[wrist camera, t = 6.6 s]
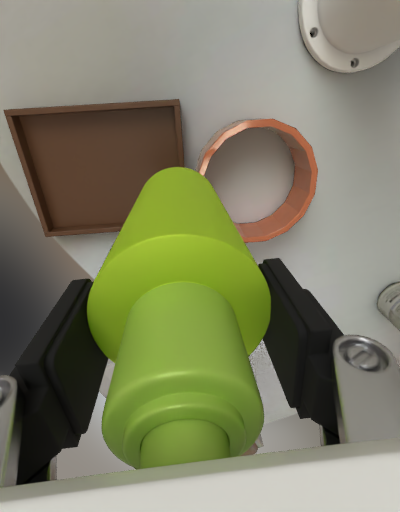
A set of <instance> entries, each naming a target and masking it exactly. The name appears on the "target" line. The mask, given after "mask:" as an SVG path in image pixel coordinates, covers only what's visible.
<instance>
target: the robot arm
mask: <svg viewBox="0 0 400 512" xmlns="http://www.w3.org/2000/svg"><path fill="white" fill-rule="evenodd" d="M298 14H299V25H300V30H301V34H302V38H303V40H304V43H305V45H306V47H307V49H308V51H309V52H310V54H311V55H312V56H313V58H314V59H315V60H316V61H317V62H318V63H320V64H321V65H322V66H324V67H325V68H327V69H329V70H331V71H335V72H339V73H353V72H358V71H362V70H365V69H368V68H371V67H373V66H375V65H377V64H379V63H380V62H382V61H384V60H385V59H386V58H387V57H389V56H390V55H391V54H392V53H394V52H395V51H396V49H397V48H398V47H399V46H400V0H299V5H298ZM310 32H311V33H312V38H311V36H310ZM351 62H352V66H351ZM258 267H259V269H260V271H261V272H262V274H263V276H264V278H265V280H266V282H267V285H268V288H269V291H270V296H271V312H270V322H269V325H268V328H267V331H266V333H265V335H264V337H263V341H264V343H265V346H266V348H267V351H268V353H269V356H270V358H271V361H272V363H273V366H274V368H275V371H276V374H277V376H278V379H279V381H280V384H281V386H282V389H283V391H284V394H285V396H286V399H287V401H288V404H289V406H290V407H291V408H295V407H296V410H297V412H298V415H299V417H300V419H303V418H311V420H313V421H315V422H316V423H318V424H319V429H320V441H321V446H320V447H312V448H303V449H295V450H287V451H279V452H272V453H263V454H255V455H246V456H238V457H230V458H222V459H215V460H207V461H199V462H191V463H183V464H175V465H168V466H160V467H152V468H144V469H137V470H129V471H121V472H114V473H106V474H98V475H91V476H84V477H76V478H69V479H61V480H56V473H57V472H56V471H57V469H56V468H57V467H56V465H57V464H56V461H57V459H56V455H57V454H58V453H60V452H61V449H63V448H72V447H77V446H78V443H79V440H80V437H81V434H84V433H86V431H87V429H88V426H89V423H90V420H91V416H92V412H93V409H94V406H95V403H96V399H97V396H98V392H99V389H100V386H101V382H102V379H103V376H104V372H105V369H106V365H107V362H108V359H109V358H108V357H107V356H106V355H105V354H104V353H103V352H102V351H101V349H100V348H99V347H98V345H97V344H96V342H95V340H94V338H93V336H92V334H91V331H90V328H89V324H88V319H87V302H88V297H89V293H90V290H91V287H92V285H93V283H94V282H91V280H90V279H80V280H73V281H72V282H71V283H70V284H69V286H68V287H67V289H66V290H65V292H64V293H63V295H62V296H61V298H60V299H59V301H58V302H57V304H56V305H55V307H54V308H53V310H52V311H51V313H50V314H49V316H48V317H47V318H46V320H45V321H44V323H43V324H42V326H41V327H40V329H39V331H38V332H37V333H36V335H35V336H34V338H33V339H32V341H31V342H30V344H29V345H28V347H27V348H26V350H25V351H24V352H23V354H22V355H21V357H20V359H19V360H18V361H17V363H16V364H15V368H14V370H13V371H12V372H11V374H10V375H9V376H8V375H0V512H400V369H399V366H398V364H397V361H396V359H395V357H394V356H393V354H392V352H391V351H390V350H388V349H387V348H386V347H385V346H384V345H382V344H381V343H379V342H377V341H376V340H373V339H371V338H368V337H365V336H360V335H345V336H344V334H343V333H342V332H341V331H340V329H339V328H338V327H337V325H336V324H335V323H334V322H333V320H332V319H331V318H330V317H329V315H328V314H327V313H326V312H325V310H324V309H323V308H322V306H321V305H320V304H319V303H318V301H317V300H316V299H315V298H314V296H313V295H312V294H311V292H310V291H309V290H307V289H302V287H301V286H300V285H299V283H298V282H297V281H296V279H295V278H294V277H293V275H292V274H291V273H290V272H289V270H288V269H287V268H286V266H285V265H284V264H283V262H282V261H281V260H280V259H279V258H275V259H266V260H264V261H263V264H259V265H258Z"/></svg>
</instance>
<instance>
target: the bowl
mask: <svg viewBox="0 0 400 512" xmlns="http://www.w3.org/2000/svg"><path fill="white" fill-rule="evenodd" d="M256 127H263V128H265V129H268V130H270V131H273V132H275V133H277V134H278V135H279V136H280V137H281V139H282V140H283V141H284V142H285V143H286V144H287V145H288V146H289V148H290V151H291V154H292V158H293V161H294V164H295V171H294V182H293V186H292V188H291V190H290V192H289V194H288V196H287V199H286V201H285V202H284V203H283V204H282V205H281V206H280V207H279V208H278V209H277V210H276V211H275V212H274V213H273V214H272V215H271V216H268V217H266V218H264V219H262V220H260V221H258V222H256V223H242V224H237V223H234V222H233V223H234V225H235V227H236V229H237V230H238V232H239V234H240V236H241V237H242V239H243V241H244V243H248V242H260V241H267V240H269V239H272V238H274V237H276V236H278V235H280V234H283V233H285V232H286V231H288V230H289V229H290V228H291V227H292V226H293V225H294V224H295V223H296V222H297V221H298V220H300V219H301V218H302V217H303V216H304V214H305V212H306V210H307V208H308V206H309V205H310V203H311V201H312V199H313V197H314V195H315V189H316V181H317V173H318V168H317V165H316V161H315V157H314V153H313V150H312V147H311V145H310V144H309V143H308V142H307V141H306V140H305V138H304V137H303V136H302V135H301V134H300V133H299V131H298V130H297V129H296V128H294V127H291V126H289V125H287V124H284V123H282V122H279V121H277V120H275V119H255V120H239V121H236V122H234V123H232V124H230V125H228V126H226V127H224V128H223V129H221V130H219V131H217V132H216V133H215V134H214V135H213V137H212V138H211V139H210V140H209V141H208V143H207V144H206V145H205V146H204V148H203V149H202V150H201V153H200V156H199V159H198V162H197V165H196V168H195V171H196V172H198V173H200V174H201V175H203V176H204V175H205V173H206V170H207V167H208V164H209V161H210V158H211V157H212V155H213V154H214V153H215V152H216V151H217V150H218V148H219V147H220V146H221V145H222V144H223V143H224V141H225V140H226V139H228V138H230V137H232V136H234V135H235V134H237V133H239V132H241V131H243V130H245V129H247V128H256Z"/></svg>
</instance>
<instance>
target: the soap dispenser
mask: <svg viewBox="0 0 400 512" xmlns="http://www.w3.org/2000/svg"><path fill="white" fill-rule="evenodd" d="M270 312H271V296H270V291H269V288H268V285H267V282H266V280H265V278H264V276H263V274H262V272H261V271H260V269H259V267H258V265H257V264H256V262H255V260H254V258H253V257H252V255H251V253H250V251H249V250H248V248H247V246H246V244H245V243H244V241H243V239H242V237H241V236H240V234H239V232H238V230H237V229H236V227H235V225H234V223H233V222H232V220H231V218H230V217H229V215H228V213H227V211H226V210H225V208H224V206H223V204H222V203H221V201H220V199H219V197H218V196H217V194H216V192H215V190H214V189H213V187H212V185H211V184H210V182H209V181H208V180H207V179H206V178H205V177H204V176H203V175H201V174H200V173H198V172H196V171H194V170H192V169H189V168H184V167H171V168H167V169H164V170H161V171H159V172H157V173H156V174H154V175H153V176H152V177H151V178H150V179H149V180H148V181H147V182H146V184H145V185H144V187H143V189H142V191H141V192H140V194H139V196H138V198H137V200H136V202H135V204H134V206H133V208H132V210H131V212H130V213H129V215H128V217H127V219H126V221H125V223H124V225H123V227H122V229H121V231H120V233H119V235H118V236H117V238H116V240H115V242H114V244H113V246H112V248H111V250H110V252H109V254H108V256H107V257H106V259H105V261H104V263H103V265H102V267H101V269H100V271H99V273H98V275H97V277H96V279H95V280H94V283H93V285H92V287H91V290H90V293H89V297H88V302H87V319H88V324H89V328H90V331H91V334H92V336H93V338H94V340H95V342H96V344H97V345H98V347H99V348H100V349H101V351H102V352H103V353H104V354H105V355H106V356H107V357H108V358H109V359H110V360H111V361H112V362H114V363H115V367H114V371H113V375H112V379H111V383H110V387H109V390H108V394H107V398H106V402H105V407H104V411H103V416H102V434H103V438H104V440H105V442H106V444H107V446H108V448H109V449H110V450H111V451H112V453H113V454H114V455H115V456H116V457H118V458H119V459H120V460H121V461H123V462H125V463H126V464H128V465H130V466H132V467H134V468H135V469H136V470H137V469H144V468H152V467H160V466H168V465H175V464H183V463H191V462H199V461H207V460H215V459H222V458H230V457H238V456H241V455H242V454H244V453H245V452H246V451H247V450H248V449H249V448H250V447H251V446H252V445H253V444H254V443H255V441H256V440H257V438H258V437H259V435H260V432H261V430H262V427H263V423H264V410H263V404H262V400H261V397H260V393H259V390H258V387H257V383H256V380H255V377H254V374H253V370H252V367H251V364H250V361H249V358H248V356H249V355H250V354H251V353H252V352H253V351H254V350H255V349H256V347H257V346H258V345H259V343H260V342H261V340H262V339H263V337H264V335H265V333H266V331H267V328H268V325H269V322H270Z"/></svg>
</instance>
